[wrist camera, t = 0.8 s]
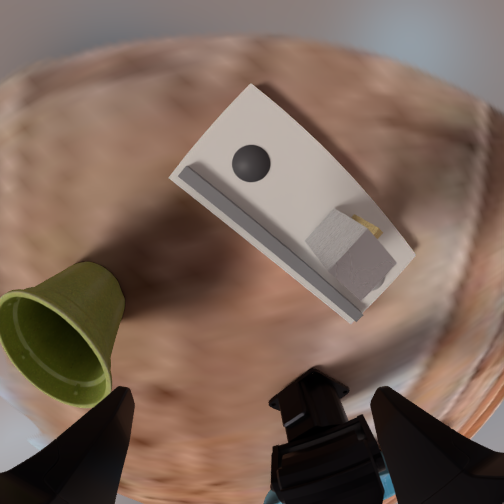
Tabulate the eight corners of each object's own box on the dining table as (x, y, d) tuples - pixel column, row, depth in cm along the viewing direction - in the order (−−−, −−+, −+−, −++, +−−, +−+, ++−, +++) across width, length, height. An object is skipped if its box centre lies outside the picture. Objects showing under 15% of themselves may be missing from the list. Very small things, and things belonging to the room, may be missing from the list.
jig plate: (408, 250, 21) (422, 259, 19) (345, 316, 23) (355, 331, 21) (249, 87, 16) (252, 79, 14) (172, 176, 18) (164, 179, 16)
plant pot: (163, 279, 20) (129, 353, 12) (125, 354, 23) (97, 425, 15) (67, 220, 18) (-4, 260, 10) (45, 304, 20) (-3, 358, 12)
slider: (367, 229, 18) (404, 253, 14) (332, 266, 19) (360, 301, 15) (341, 200, 18) (376, 218, 13) (304, 240, 18) (328, 271, 14)
